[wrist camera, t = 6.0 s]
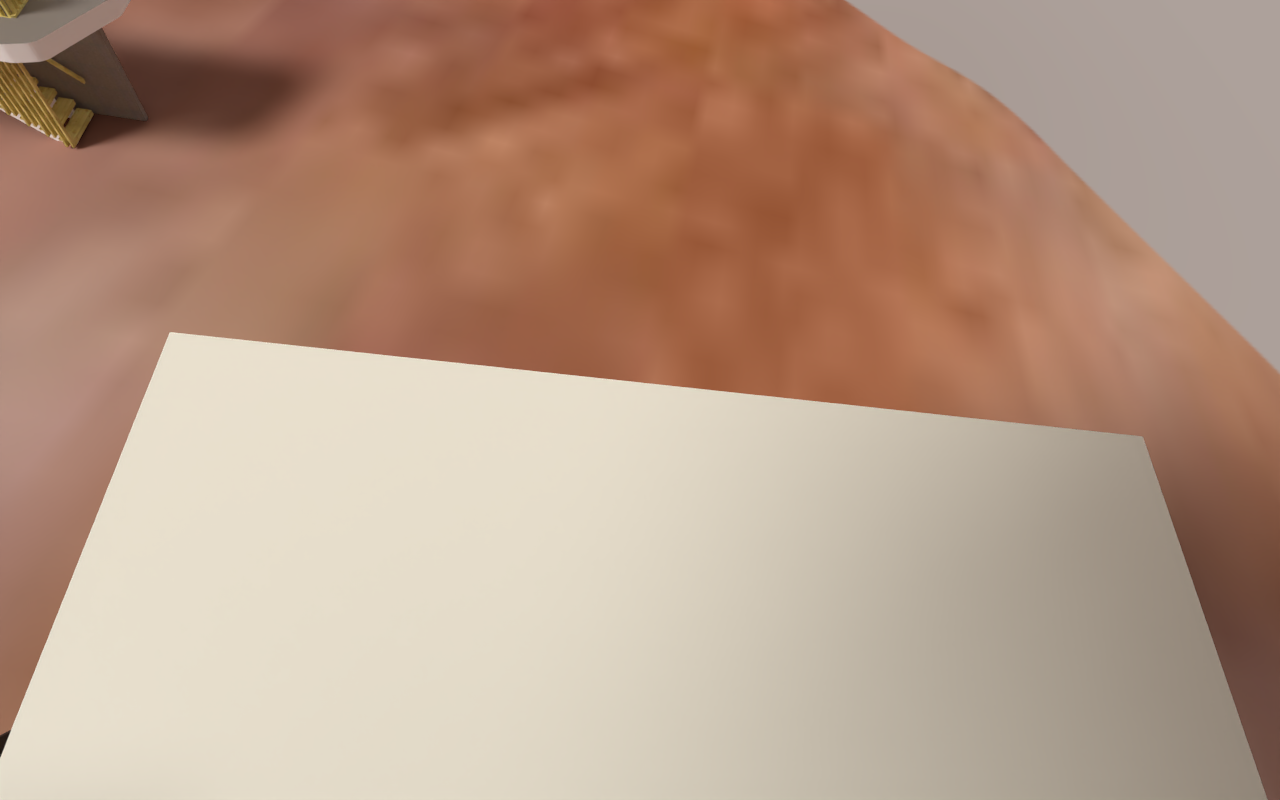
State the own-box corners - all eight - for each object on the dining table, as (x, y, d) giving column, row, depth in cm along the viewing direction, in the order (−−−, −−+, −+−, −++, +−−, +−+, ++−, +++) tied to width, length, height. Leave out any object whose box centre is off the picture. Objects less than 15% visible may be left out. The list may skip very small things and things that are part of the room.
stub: (689, 857, 13) (1369, 1095, 3) (381, 853, 13) (-159, 1158, 2) (687, 684, 15) (1142, 437, 4) (411, 671, 14) (170, 332, 4)
